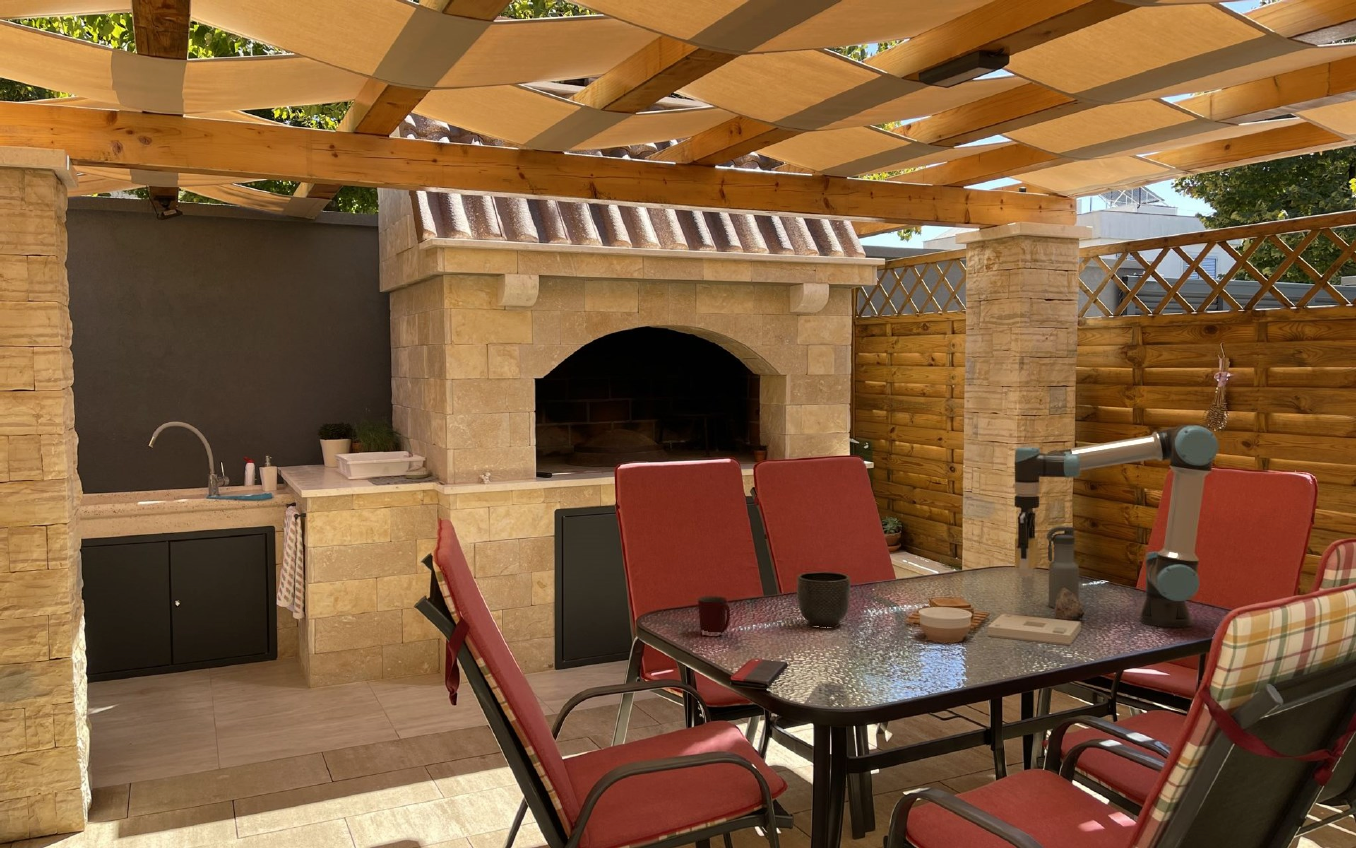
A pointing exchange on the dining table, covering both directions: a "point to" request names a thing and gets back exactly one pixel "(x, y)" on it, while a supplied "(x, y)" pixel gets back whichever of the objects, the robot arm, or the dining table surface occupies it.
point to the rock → (1068, 606)
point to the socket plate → (1035, 629)
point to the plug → (1032, 557)
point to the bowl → (945, 623)
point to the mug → (713, 614)
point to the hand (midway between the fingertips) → (1026, 567)
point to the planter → (823, 597)
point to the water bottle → (1062, 563)
